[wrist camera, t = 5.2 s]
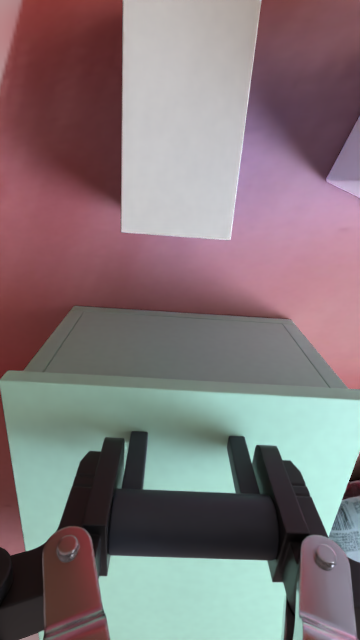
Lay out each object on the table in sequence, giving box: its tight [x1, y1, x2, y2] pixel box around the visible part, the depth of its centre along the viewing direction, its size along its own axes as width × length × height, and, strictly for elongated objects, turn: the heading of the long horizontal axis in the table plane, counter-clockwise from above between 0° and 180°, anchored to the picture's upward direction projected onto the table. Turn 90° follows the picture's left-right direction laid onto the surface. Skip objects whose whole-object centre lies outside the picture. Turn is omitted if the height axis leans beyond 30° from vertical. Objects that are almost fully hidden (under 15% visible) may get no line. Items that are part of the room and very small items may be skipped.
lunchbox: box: [23, 306, 348, 389], centre depth 23 cm, size 20×15×9 cm
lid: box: [0, 370, 360, 640], centre depth 15 cm, size 21×15×5 cm
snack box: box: [121, 0, 261, 240], centre depth 16 cm, size 5×10×6 cm, turn 176°
